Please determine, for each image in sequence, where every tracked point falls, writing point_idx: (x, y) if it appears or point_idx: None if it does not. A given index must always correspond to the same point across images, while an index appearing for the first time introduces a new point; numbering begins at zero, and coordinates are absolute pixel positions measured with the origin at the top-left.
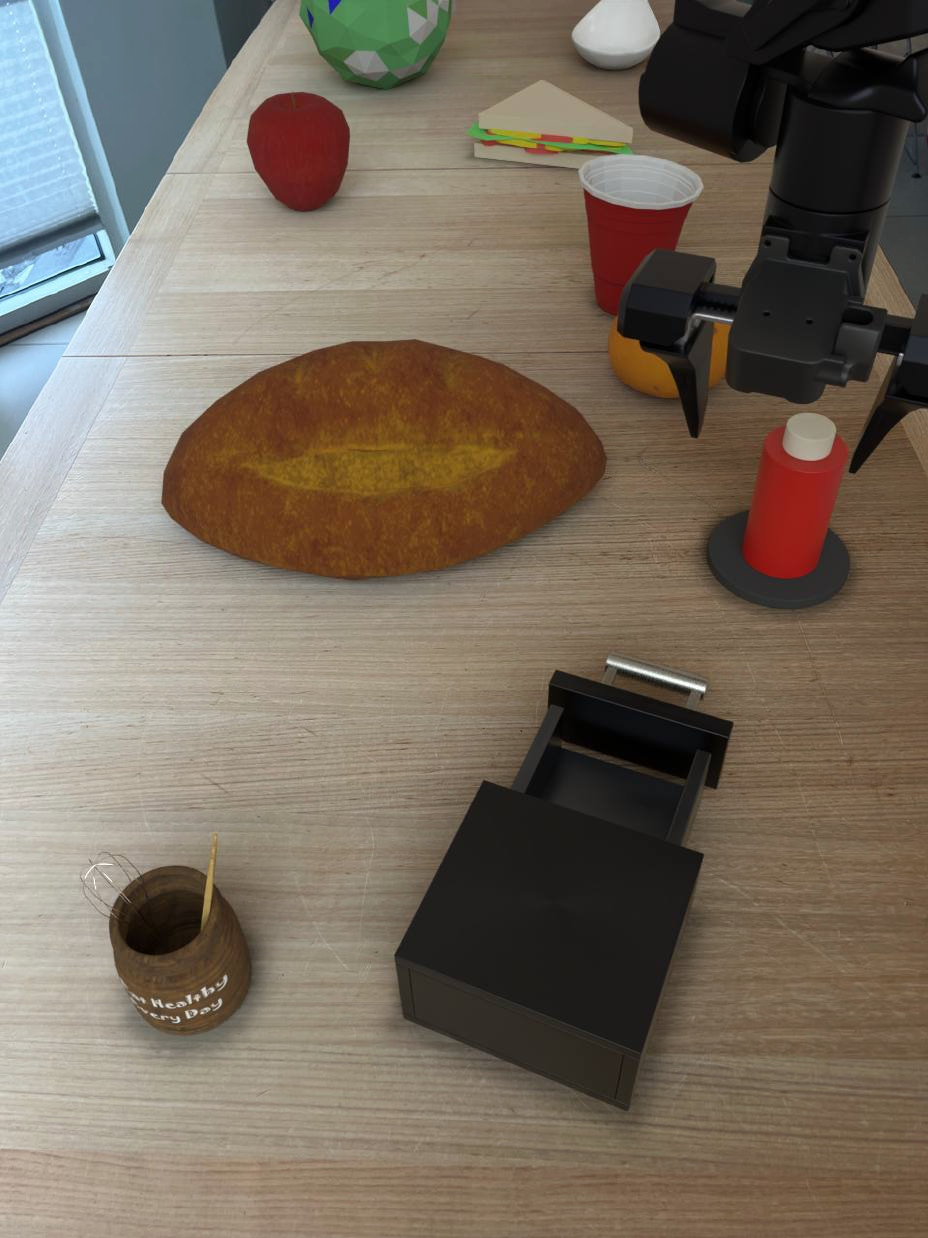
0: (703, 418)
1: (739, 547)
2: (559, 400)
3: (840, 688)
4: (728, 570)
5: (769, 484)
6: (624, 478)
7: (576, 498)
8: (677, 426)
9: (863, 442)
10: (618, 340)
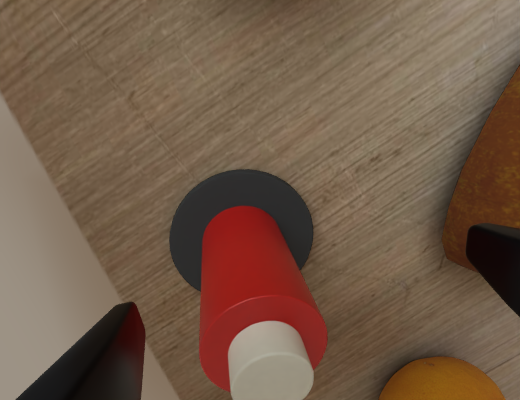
0: (489, 274)
1: (280, 227)
2: None
3: (100, 99)
4: (277, 191)
5: (285, 270)
6: (411, 257)
7: (462, 185)
8: (388, 339)
9: (66, 385)
10: (499, 394)
